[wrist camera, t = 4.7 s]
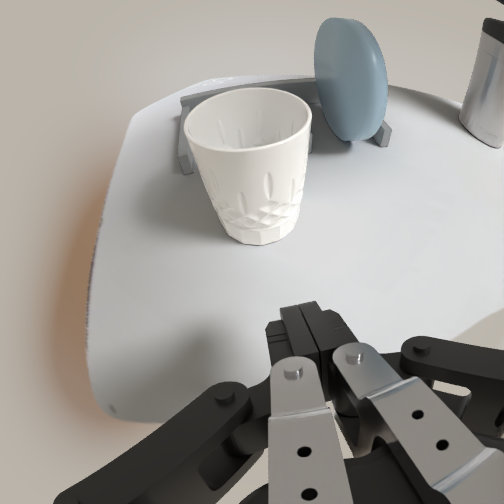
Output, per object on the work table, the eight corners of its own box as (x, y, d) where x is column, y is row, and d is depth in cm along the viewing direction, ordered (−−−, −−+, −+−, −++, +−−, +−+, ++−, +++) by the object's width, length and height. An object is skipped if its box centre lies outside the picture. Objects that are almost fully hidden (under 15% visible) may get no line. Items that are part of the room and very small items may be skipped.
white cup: (215, 186, 26) (191, 95, 18) (297, 178, 26) (298, 83, 17) (213, 256, 22) (174, 160, 14) (312, 247, 22) (326, 144, 13)
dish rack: (400, 164, 26) (432, 47, 14) (183, 196, 26) (132, 63, 14) (347, 97, 34) (353, 10, 22) (186, 118, 34) (161, 26, 22)
